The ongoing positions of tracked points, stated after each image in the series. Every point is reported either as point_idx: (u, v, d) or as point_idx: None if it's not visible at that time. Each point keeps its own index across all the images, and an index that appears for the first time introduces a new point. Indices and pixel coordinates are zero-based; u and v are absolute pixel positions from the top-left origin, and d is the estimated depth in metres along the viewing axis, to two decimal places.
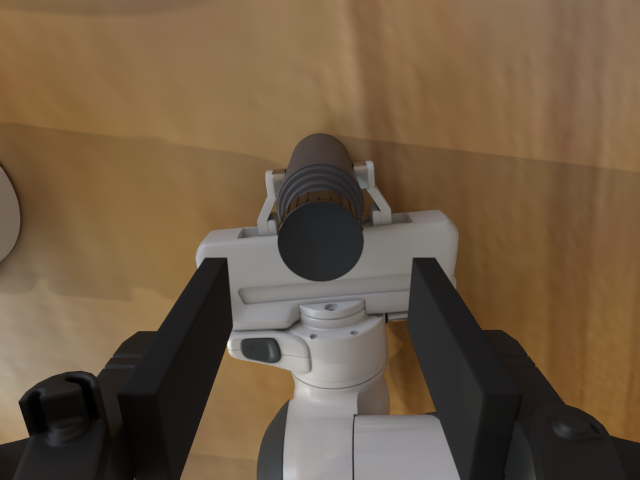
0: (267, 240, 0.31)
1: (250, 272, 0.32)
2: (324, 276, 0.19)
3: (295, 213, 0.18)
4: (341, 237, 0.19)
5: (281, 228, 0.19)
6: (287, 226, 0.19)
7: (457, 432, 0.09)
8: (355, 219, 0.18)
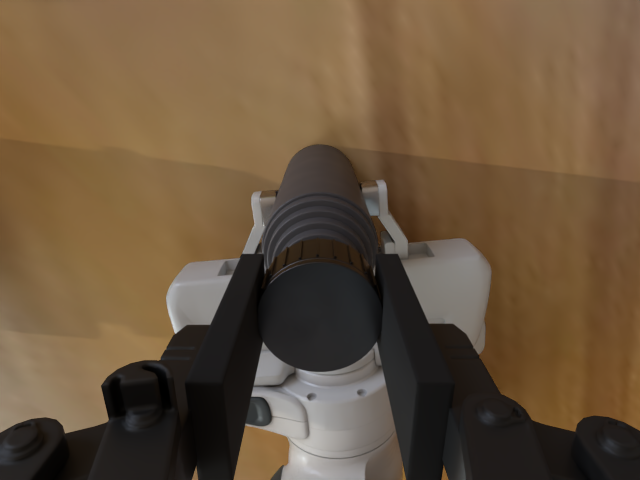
0: None
1: None
2: (325, 365, 0.13)
3: (282, 279, 0.12)
4: (350, 312, 0.13)
5: (261, 300, 0.13)
6: (270, 297, 0.13)
7: (402, 421, 0.10)
8: (371, 287, 0.12)
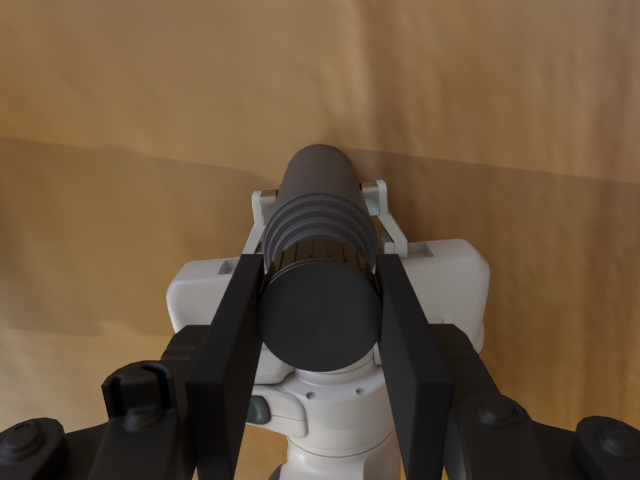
0: None
1: None
2: (373, 307, 0.13)
3: (282, 356, 0.13)
4: (305, 295, 0.12)
5: (307, 369, 0.13)
6: (303, 363, 0.13)
7: (402, 421, 0.10)
8: (273, 280, 0.12)
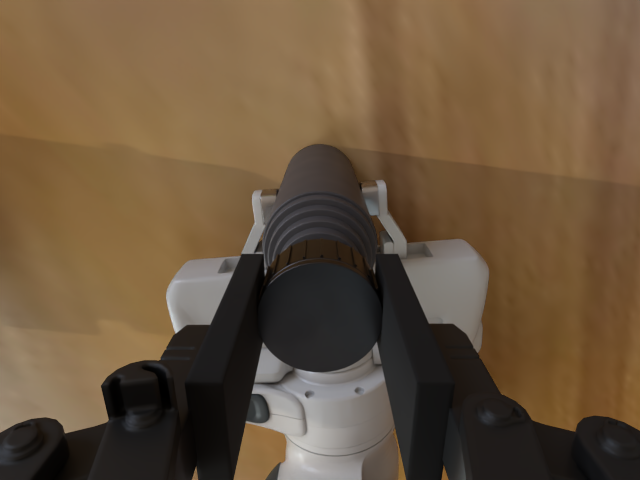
0: None
1: None
2: (294, 276, 0.12)
3: (367, 346, 0.13)
4: (294, 336, 0.13)
5: (380, 323, 0.13)
6: (373, 328, 0.13)
7: (402, 421, 0.10)
8: (286, 362, 0.13)
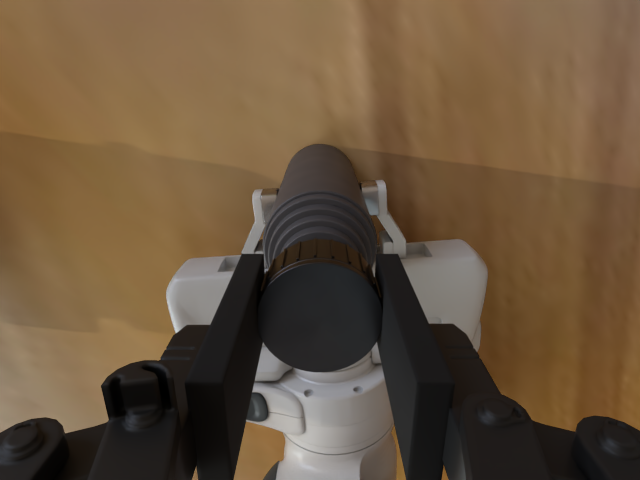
0: None
1: None
2: (276, 347, 0.13)
3: (342, 271, 0.12)
4: (342, 339, 0.13)
5: (311, 265, 0.12)
6: (318, 271, 0.12)
7: (402, 421, 0.10)
8: (374, 342, 0.13)
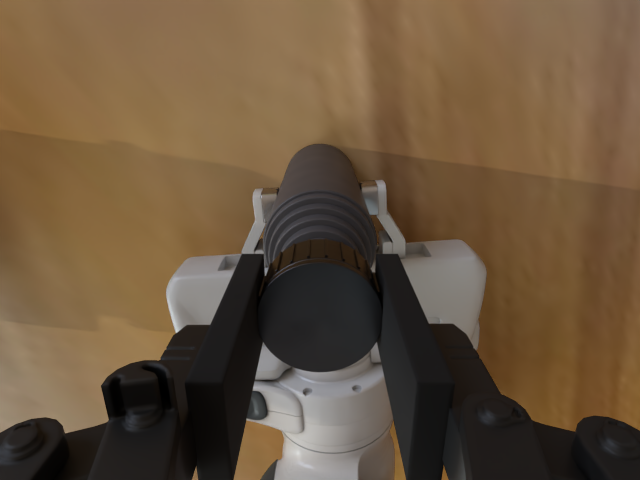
0: None
1: None
2: (357, 352, 0.13)
3: (262, 309, 0.13)
4: (337, 297, 0.13)
5: (262, 336, 0.13)
6: (266, 329, 0.13)
7: (402, 421, 0.10)
8: (336, 265, 0.12)
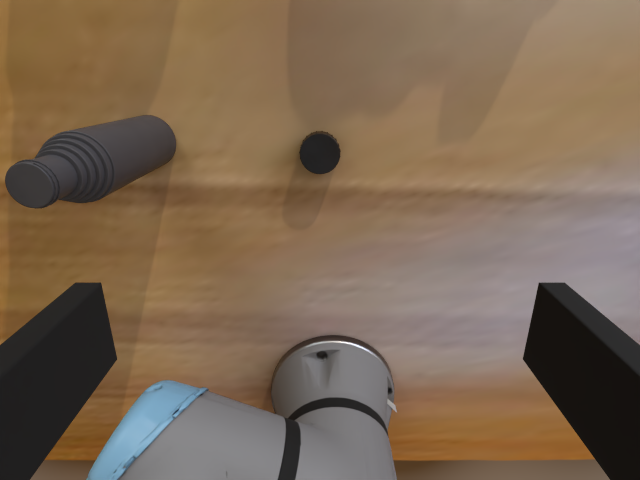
0: None
1: None
2: (332, 166, 0.41)
3: (302, 150, 0.41)
4: (325, 145, 0.40)
5: (301, 159, 0.41)
6: (303, 157, 0.41)
7: None
8: (325, 134, 0.40)
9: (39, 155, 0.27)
